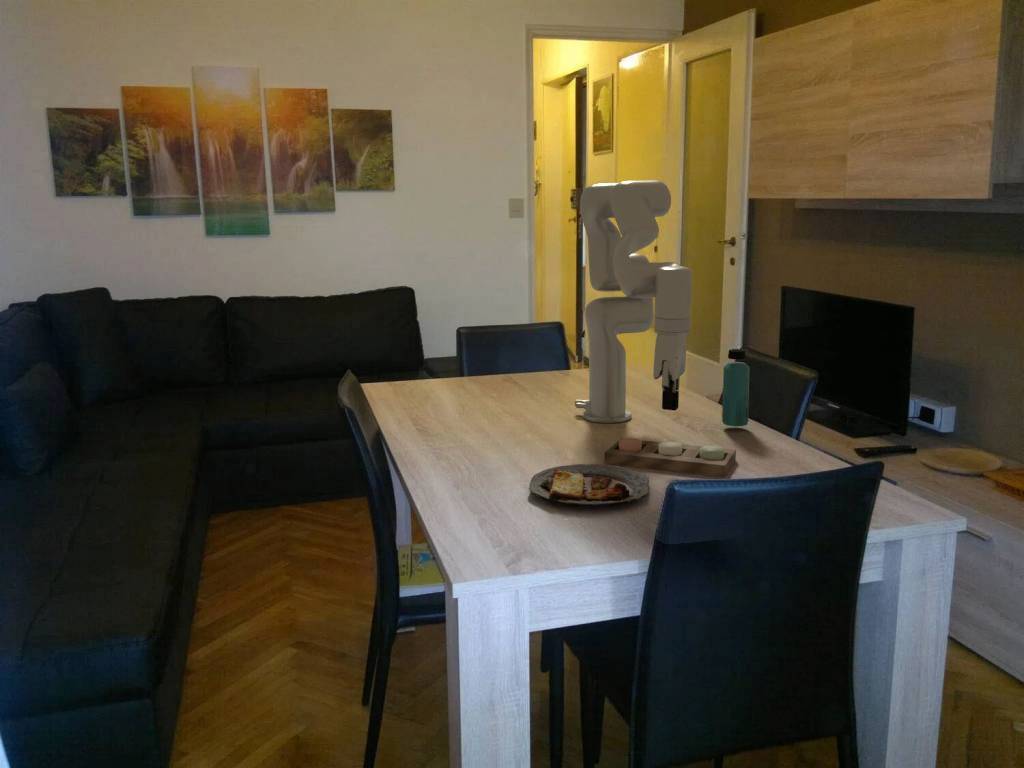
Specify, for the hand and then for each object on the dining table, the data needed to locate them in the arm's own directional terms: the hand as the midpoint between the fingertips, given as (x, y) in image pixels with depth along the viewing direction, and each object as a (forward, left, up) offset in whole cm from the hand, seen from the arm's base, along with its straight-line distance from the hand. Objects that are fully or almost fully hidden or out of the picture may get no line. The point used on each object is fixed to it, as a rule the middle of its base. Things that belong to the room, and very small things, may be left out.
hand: (670, 408), depth 186 cm
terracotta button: (-9, -1, -11) cm, 14 cm away
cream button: (0, -1, -11) cm, 11 cm away
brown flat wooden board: (0, -1, -12) cm, 12 cm away
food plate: (-10, -25, -12) cm, 29 cm away
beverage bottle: (+8, +31, -12) cm, 34 cm away
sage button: (+9, -1, -11) cm, 15 cm away
